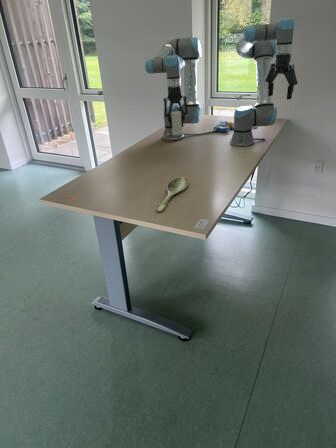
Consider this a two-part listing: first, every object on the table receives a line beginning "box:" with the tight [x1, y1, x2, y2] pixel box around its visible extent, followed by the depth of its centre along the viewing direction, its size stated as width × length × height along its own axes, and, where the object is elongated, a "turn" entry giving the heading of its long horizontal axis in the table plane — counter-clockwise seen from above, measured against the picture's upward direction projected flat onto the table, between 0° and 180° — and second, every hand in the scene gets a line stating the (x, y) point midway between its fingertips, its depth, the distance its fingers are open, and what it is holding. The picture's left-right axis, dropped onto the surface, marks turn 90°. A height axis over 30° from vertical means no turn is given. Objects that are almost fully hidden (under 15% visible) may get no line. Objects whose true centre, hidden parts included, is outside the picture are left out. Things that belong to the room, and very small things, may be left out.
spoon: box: [157, 176, 190, 213], centre depth 167 cm, size 35×11×2 cm, turn 159°
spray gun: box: [213, 120, 234, 133], centre depth 256 cm, size 21×4×15 cm
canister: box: [171, 111, 183, 135], centre depth 199 cm, size 6×6×13 cm
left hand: (176, 126), depth 200 cm, fingers closed on canister, 6 cm apart
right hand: (279, 97), depth 181 cm, fingers open, 13 cm apart
